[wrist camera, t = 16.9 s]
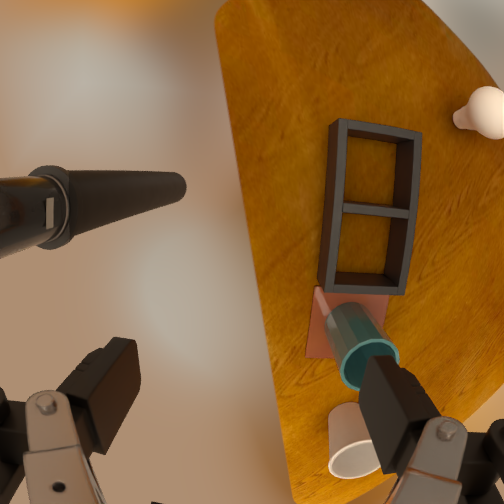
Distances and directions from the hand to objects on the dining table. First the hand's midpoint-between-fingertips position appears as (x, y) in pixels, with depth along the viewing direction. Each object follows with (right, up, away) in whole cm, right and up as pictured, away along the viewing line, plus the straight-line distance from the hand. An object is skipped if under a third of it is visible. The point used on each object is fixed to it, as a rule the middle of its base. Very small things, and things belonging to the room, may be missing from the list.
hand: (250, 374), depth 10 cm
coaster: (+12, -5, +30) cm, 32 cm away
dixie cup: (+14, -21, +33) cm, 42 cm away
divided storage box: (+13, +9, +26) cm, 31 cm away
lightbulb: (+27, +21, +23) cm, 41 cm away
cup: (+12, -5, +29) cm, 32 cm away
